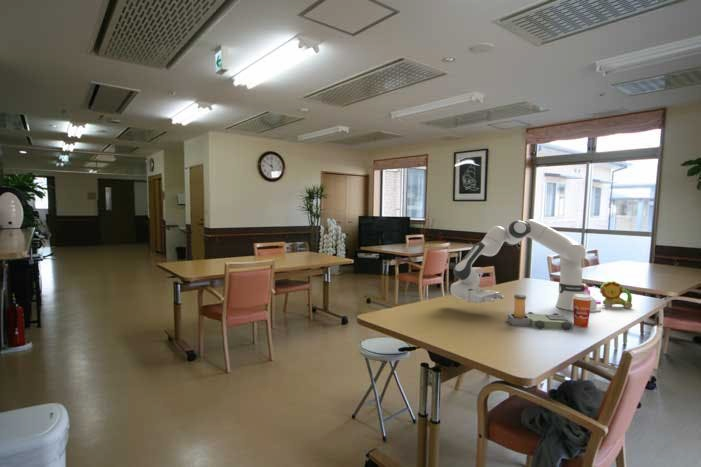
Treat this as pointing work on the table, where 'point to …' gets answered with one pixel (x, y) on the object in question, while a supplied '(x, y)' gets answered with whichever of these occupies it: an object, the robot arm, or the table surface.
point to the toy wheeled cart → (550, 321)
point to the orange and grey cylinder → (519, 306)
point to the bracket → (595, 300)
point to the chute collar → (520, 320)
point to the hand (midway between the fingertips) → (498, 299)
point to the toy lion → (615, 294)
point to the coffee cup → (581, 309)
